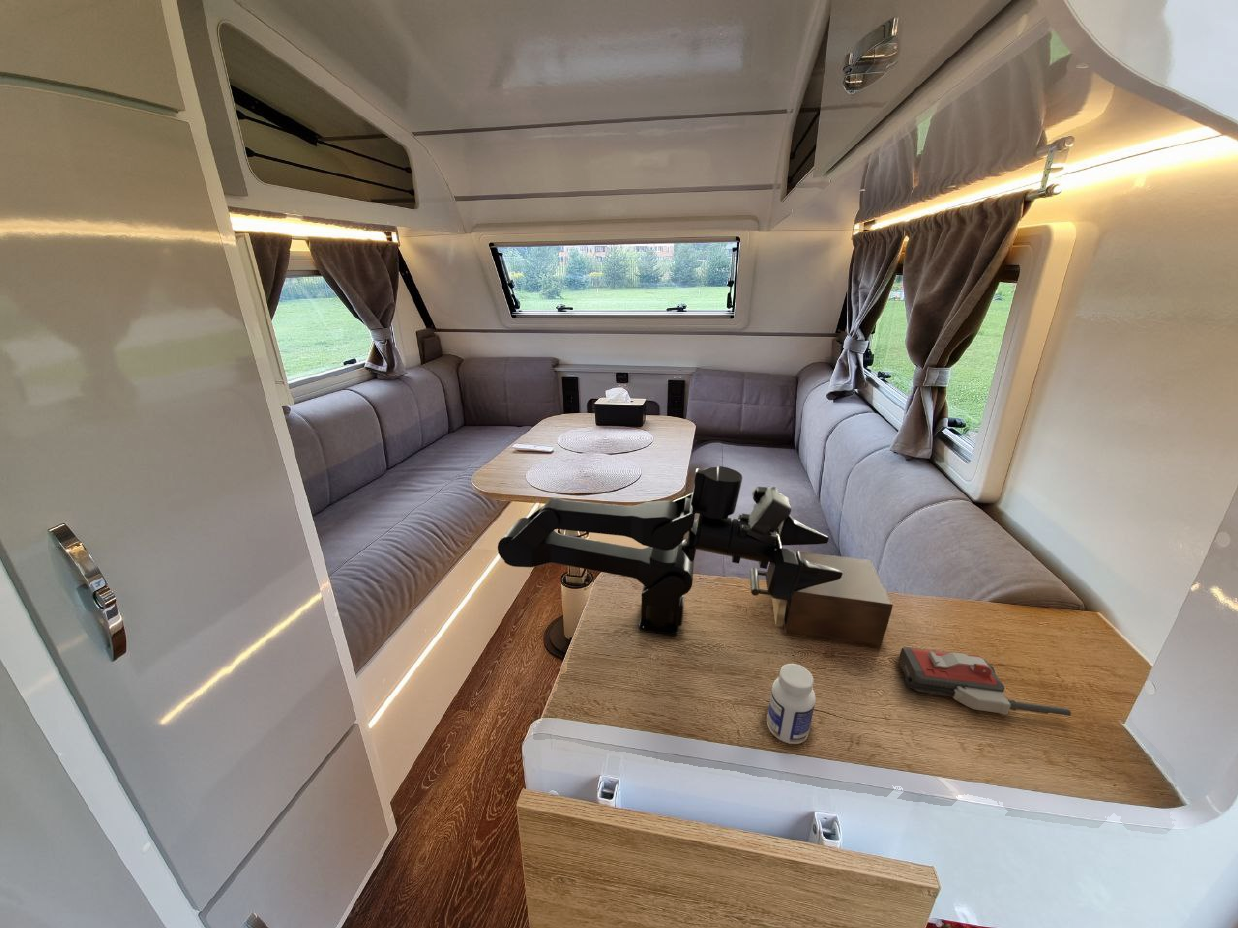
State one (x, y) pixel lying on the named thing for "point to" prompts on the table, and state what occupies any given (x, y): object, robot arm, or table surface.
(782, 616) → the drawer
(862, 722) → the table surface
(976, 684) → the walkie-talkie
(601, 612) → the table surface
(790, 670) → the pill bottle
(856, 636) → the cabinet
